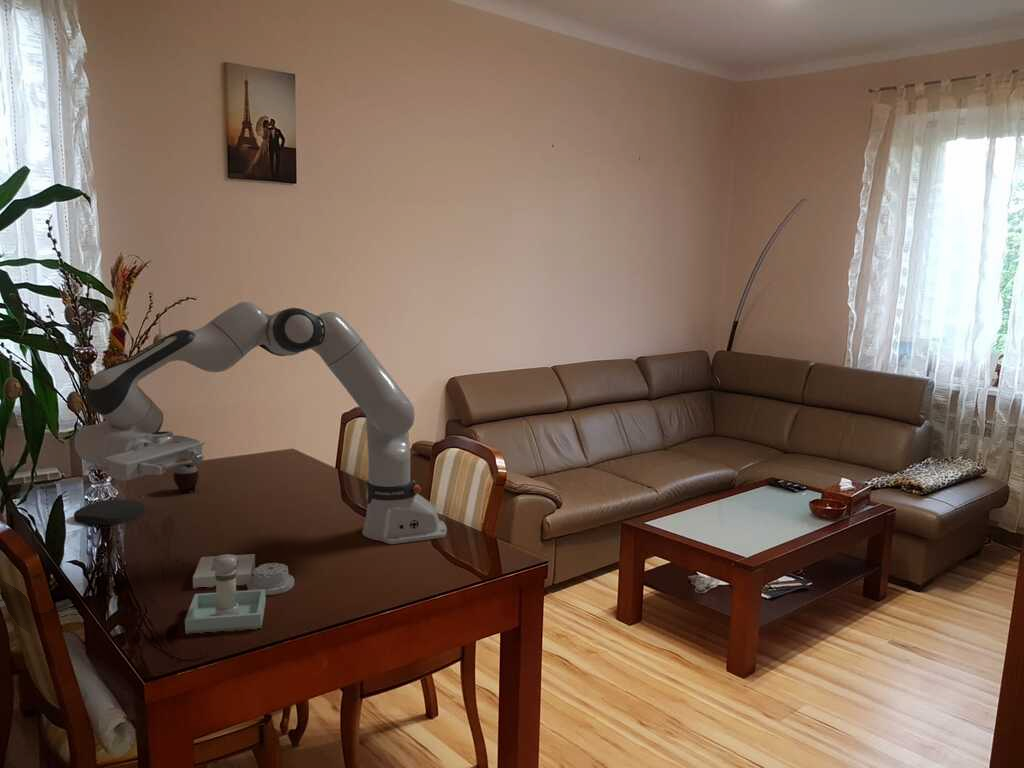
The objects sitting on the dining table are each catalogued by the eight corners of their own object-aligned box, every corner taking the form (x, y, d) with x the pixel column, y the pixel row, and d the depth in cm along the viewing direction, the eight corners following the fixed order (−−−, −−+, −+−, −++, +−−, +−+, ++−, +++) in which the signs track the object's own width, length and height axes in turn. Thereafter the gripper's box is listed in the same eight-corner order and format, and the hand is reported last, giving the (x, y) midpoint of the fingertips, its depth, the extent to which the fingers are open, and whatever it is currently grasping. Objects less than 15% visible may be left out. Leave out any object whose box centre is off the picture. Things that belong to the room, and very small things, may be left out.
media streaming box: (115, 528, 207) (114, 517, 207) (67, 523, 210) (66, 512, 210) (150, 511, 222) (150, 501, 221) (105, 506, 224) (105, 496, 224)
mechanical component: (281, 574, 180) (240, 585, 174) (281, 556, 180) (239, 566, 173) (302, 588, 173) (259, 600, 166) (301, 569, 172) (258, 581, 166)
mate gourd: (169, 493, 237) (167, 445, 235) (187, 486, 245) (185, 440, 242) (189, 496, 235) (187, 447, 233) (207, 489, 243) (205, 442, 240)
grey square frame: (255, 564, 185) (254, 554, 185) (250, 584, 174) (250, 574, 173) (201, 567, 182) (201, 557, 182) (193, 588, 171) (192, 577, 170)
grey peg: (235, 608, 161) (233, 552, 159) (241, 616, 157) (239, 559, 155) (213, 613, 158) (210, 557, 156) (219, 621, 154) (216, 564, 153)
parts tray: (265, 602, 165) (265, 589, 164) (261, 628, 153) (260, 614, 153) (195, 607, 162) (194, 593, 161) (185, 634, 150) (184, 620, 150)
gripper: (89, 450, 155) (137, 462, 149) (174, 429, 173) (219, 438, 167) (91, 480, 156) (139, 493, 150) (175, 456, 174) (220, 466, 168)
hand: (182, 464), depth 159 cm, fingers open, 8 cm apart
